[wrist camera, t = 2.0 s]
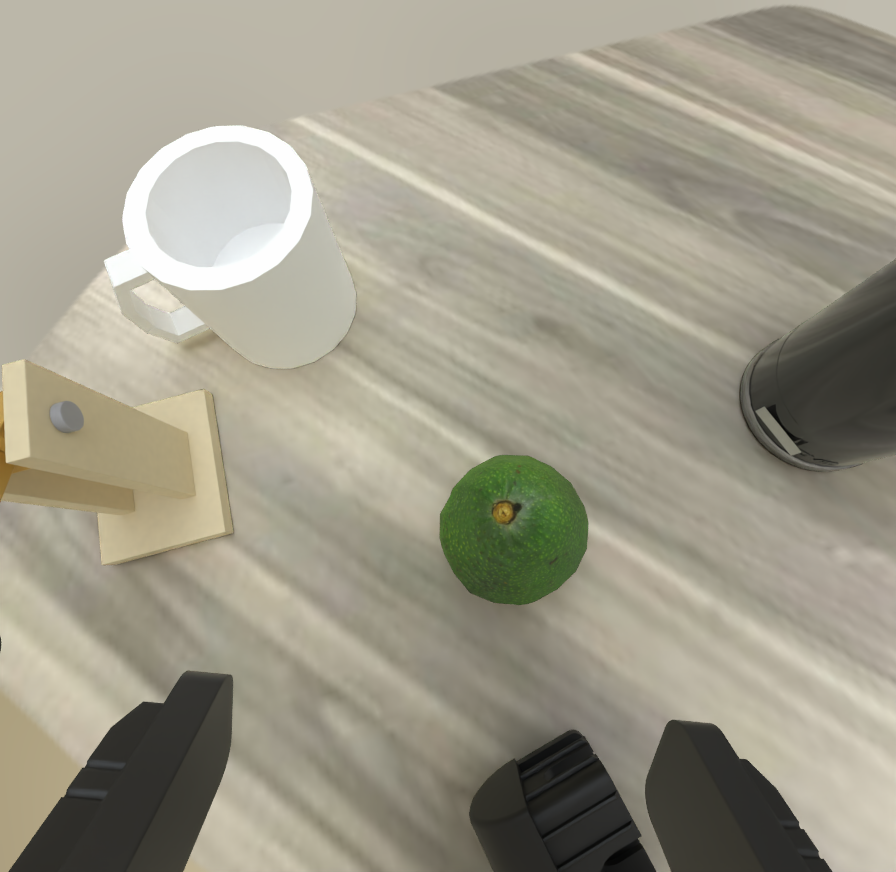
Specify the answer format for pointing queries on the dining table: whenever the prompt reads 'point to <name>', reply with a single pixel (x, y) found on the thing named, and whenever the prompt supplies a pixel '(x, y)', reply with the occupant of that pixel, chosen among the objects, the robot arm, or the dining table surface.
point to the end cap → (556, 814)
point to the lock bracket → (116, 461)
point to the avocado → (513, 530)
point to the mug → (235, 249)
